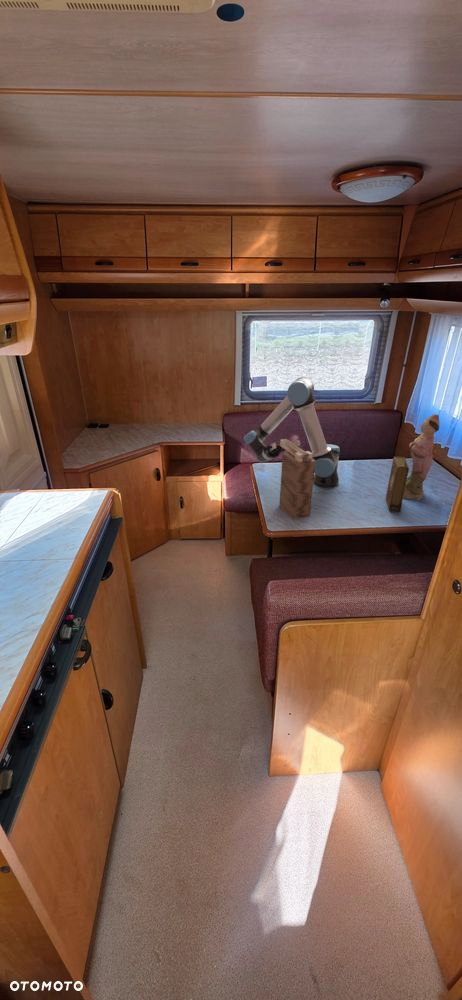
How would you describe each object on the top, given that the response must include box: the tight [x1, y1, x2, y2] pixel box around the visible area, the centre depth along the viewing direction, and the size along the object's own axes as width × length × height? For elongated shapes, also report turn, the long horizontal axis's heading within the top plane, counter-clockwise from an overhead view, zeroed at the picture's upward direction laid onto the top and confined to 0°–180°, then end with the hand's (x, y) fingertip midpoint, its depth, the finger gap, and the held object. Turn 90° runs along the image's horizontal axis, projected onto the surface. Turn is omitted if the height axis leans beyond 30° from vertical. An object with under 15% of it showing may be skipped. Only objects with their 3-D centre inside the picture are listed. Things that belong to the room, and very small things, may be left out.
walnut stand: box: [278, 451, 316, 520], centre depth 216 cm, size 10×15×30 cm, turn 20°
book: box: [385, 455, 410, 513], centre depth 224 cm, size 16×6×25 cm, turn 168°
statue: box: [403, 414, 441, 500], centre depth 233 cm, size 16×17×45 cm
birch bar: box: [279, 438, 312, 462], centre depth 213 cm, size 7×24×3 cm, turn 20°
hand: (287, 443), depth 218 cm, fingers open, 13 cm apart
